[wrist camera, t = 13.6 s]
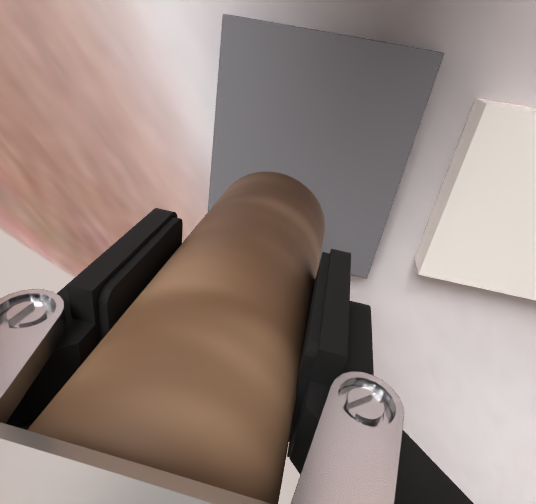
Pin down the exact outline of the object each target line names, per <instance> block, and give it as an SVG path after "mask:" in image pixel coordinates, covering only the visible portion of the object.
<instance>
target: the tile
mask: <svg viewBox="0 0 536 504" xmlns="http://www.w3.org/2000/svg"><path fill="white" fill-rule="evenodd" d="M414 258H415V262H416V267H417V271H418V275H423V276H427V277H432V278H436V279H441V280H445V281H450V282H454V283H459V284H463V285H468V286H472V287H477V288H481V289H486V290H490V291H495V292H499V293H504V294H508V295H513V296H517V297H522V298H526V299H531V300H535V301H536V108H534V107H529V106H523V105H517V104H511V103H505V102H499V101H493V100H487V99H481V98H475V101H474V104H473V106H472V109H471V111H470V114H469V117H468V119H467V122H466V124H465V127H464V130H463V132H462V135H461V137H460V140H459V143H458V145H457V148H456V150H455V153H454V156H453V158H452V161H451V163H450V166H449V169H448V171H447V174H446V176H445V179H444V182H443V184H442V187H441V189H440V192H439V195H438V197H437V200H436V202H435V205H434V208H433V210H432V213H431V215H430V218H429V221H428V223H427V226H426V228H425V231H424V234H423V236H422V239H421V241H420V244H419V247H418V249H417V252H416V254H415V257H414Z"/></svg>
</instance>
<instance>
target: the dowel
mask: <svg viewBox="0 0 536 504" xmlns="http://www.w3.org/2000/svg"><path fill="white" fill-rule="evenodd" d="M324 232H325V220H324V214H323V211H322V208H321V206H320V203H319V202H318V200H317V198H316V197H315V196H314V194H313V193H312V192H311V191H310V190H309V189H308V188H307V187H306V186H305V185H304V184H302V183H301V182H300V181H298V180H296V179H294V178H292V177H290V176H288V175H285V174H281V173H277V172H256V173H252V174H249V175H246V176H244V177H242V178H240V179H238V180H237V181H235V182H234V183H233V184H232V185H231V186H230V187H229V188H228V189H227V190H226V191H225V193H224V194H223V195H222V196H221V197H220V199H219V200H218V201H217V202H216V203H215V205H214V206H213V207H212V208H211V209H210V211H209V212H208V213H207V214H206V215H205V217H204V218H203V219H202V220H201V221H200V223H199V224H198V225H197V226H196V227H195V229H194V230H193V231H192V232H191V233H190V235H189V236H188V237H187V238H186V239H185V241H184V242H183V243H182V244H181V245H180V247H179V248H178V249H177V250H176V251H175V253H174V254H173V255H172V256H171V258H170V259H169V260H168V261H167V262H166V264H165V265H164V266H163V267H162V268H161V270H160V271H159V272H158V273H157V274H156V276H155V277H154V278H153V279H152V280H151V282H150V283H149V284H148V285H147V286H146V288H145V289H144V290H143V291H142V292H141V294H140V295H139V296H138V297H137V298H136V300H135V301H134V302H133V303H132V304H131V306H130V307H129V308H128V309H127V310H126V312H125V313H124V314H123V315H122V316H121V318H120V319H119V320H118V321H117V322H116V324H115V325H114V326H113V327H112V328H111V330H110V331H109V332H108V333H107V334H106V336H105V337H104V338H103V339H102V340H101V342H100V343H99V344H98V345H97V347H96V348H95V349H94V350H93V351H92V353H91V354H90V355H89V356H88V357H87V359H86V360H85V361H84V362H83V363H82V365H81V366H80V367H79V368H78V369H77V371H76V372H75V373H74V374H73V375H72V377H71V378H70V379H69V380H68V381H67V383H66V384H65V385H64V386H63V387H62V389H61V390H60V391H59V392H58V393H57V395H56V396H55V397H54V398H53V399H52V401H51V402H50V403H49V404H48V405H47V407H46V408H45V409H44V410H43V411H42V413H41V414H40V415H39V416H38V417H37V419H36V420H35V421H34V422H33V423H32V425H31V426H30V427H29V428H28V431H31V432H35V433H38V434H42V435H45V436H48V437H52V438H55V439H58V440H62V441H65V442H68V443H72V444H75V445H78V446H82V447H85V448H88V449H92V450H95V451H99V452H102V453H105V454H109V455H112V456H115V457H119V458H122V459H125V460H129V461H132V462H135V463H139V464H142V465H145V466H149V467H152V468H155V469H159V470H162V471H165V472H169V473H172V474H175V475H178V476H182V477H185V478H188V479H192V480H195V481H198V482H201V483H205V484H208V485H211V486H215V487H218V488H221V489H224V490H228V491H231V492H234V493H237V494H241V495H244V496H247V497H251V498H254V499H257V500H260V501H264V502H267V503H270V504H278V501H279V495H280V489H281V483H282V477H283V471H284V466H285V460H286V454H287V448H288V442H289V436H290V431H291V425H292V419H293V413H294V407H295V401H296V384H297V378H298V373H299V367H300V362H301V356H302V350H303V345H304V339H305V334H306V328H307V322H308V317H309V311H310V305H311V300H312V294H313V289H314V283H315V278H316V274H317V271H318V267H319V261H320V256H321V250H322V244H323V238H324Z"/></svg>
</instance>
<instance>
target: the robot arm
mask: <svg viewBox="0 0 536 504" xmlns="http://www.w3.org/2000/svg"><path fill="white" fill-rule="evenodd" d="M181 244H182V219H179V218H177V214H176V213H175V212H171V211H167V210H162V209H158V208H155V209H154V210H152V211H151V212H150V213H149V214H148V215H147V216H146V217H144V218H143V219H142V220H141V221H140V222H139V223H138V224H136V225H135V226H134V227H133V228H132V229H131V230H129V231H128V232H127V233H126V234H125V235H124V236H123V237H121V238H120V239H119V240H118V241H117V242H116V243H115V244H113V245H112V246H111V247H110V248H109V249H108V250H106V251H105V252H104V253H103V254H102V255H101V256H99V257H98V258H97V259H96V260H95V261H94V262H93V263H91V264H90V265H89V266H88V267H87V268H86V269H85V270H83V271H82V272H81V273H80V274H79V275H78V276H76V277H75V278H74V279H73V280H72V281H71V282H70V283H68V284H67V285H66V286H65V287H64V288H63V289H62V290H60V291H59V292H58V293H57V294H56V293H54V292H52V291H48V290H43V289H42V290H41V289H30V290H22V291H18V292H15V293H11V294H9V295H6V296H5V297H2V298H0V504H270V503H267V502H264V501H260V500H257V499H254V498H251V497H247V496H244V495H241V494H237V493H234V492H231V491H228V490H224V489H221V488H218V487H215V486H211V485H208V484H205V483H201V482H198V481H195V480H192V479H188V478H185V477H182V476H178V475H175V474H172V473H169V472H165V471H162V470H159V469H155V468H152V467H149V466H145V465H142V464H139V463H135V462H132V461H129V460H125V459H122V458H119V457H115V456H112V455H109V454H105V453H102V452H99V451H95V450H92V449H88V448H85V447H82V446H78V445H75V444H72V443H68V442H65V441H62V440H58V439H55V438H52V437H48V436H45V435H42V434H38V433H35V432H31V431H28V428H29V427H30V426H31V425H32V423H33V422H34V421H35V420H36V419H37V417H38V416H39V415H40V414H41V413H42V411H43V410H44V409H45V408H46V407H47V405H48V404H49V403H50V402H51V401H52V399H53V398H54V397H55V396H56V395H57V393H58V392H59V391H60V390H61V389H62V387H63V386H64V385H65V384H66V383H67V381H68V380H69V379H70V378H71V377H72V375H73V374H74V373H75V372H76V371H77V369H78V368H79V367H80V366H81V365H82V363H83V362H84V361H85V360H86V359H87V357H88V356H89V355H90V354H91V353H92V351H93V350H94V349H95V348H96V347H97V345H98V344H99V343H100V342H101V340H102V339H103V338H104V337H105V336H106V334H107V333H108V332H109V331H110V330H111V328H112V327H113V326H114V325H115V324H116V322H117V321H118V320H119V319H120V318H121V316H122V315H123V314H124V313H125V312H126V310H127V309H128V308H129V307H130V306H131V304H132V303H133V302H134V301H135V300H136V298H137V297H138V296H139V295H140V294H141V292H142V291H143V290H144V289H145V288H146V286H147V285H148V284H149V283H150V282H151V280H152V279H153V278H154V277H155V276H156V274H157V273H158V272H159V271H160V270H161V268H162V267H163V266H164V265H165V264H166V262H167V261H168V260H169V259H170V258H171V256H172V255H173V254H174V253H175V251H176V250H177V249H178V248H179V247H180V245H181ZM350 273H351V253H349V252H344V251H340V250H336V249H331V251H330V253H326V252H322V255H321V259H320V263H319V267H318V271H317V274H316V278H315V283H314V289H313V294H312V300H311V305H310V311H309V317H308V322H307V328H306V334H305V339H304V345H303V350H302V356H301V362H300V367H299V373H298V378H297V384H296V401H295V407H294V413H293V419H292V425H291V431H290V436H289V447H288V454H287V457H290V460H291V462H292V463H293V465H294V466H295V467H296V469H297V470H298V472H299V473H300V478H299V481H298V484H297V487H296V490H295V493H294V496H293V498H292V502H291V504H474V503H473V502H472V501H471V500H470V499H469V498H468V497H467V496H466V495H465V494H464V493H463V492H462V491H461V490H460V489H459V488H458V487H457V486H456V485H455V484H454V483H453V482H452V481H451V480H450V478H449V477H448V476H447V475H446V474H445V473H444V472H443V471H442V470H441V469H440V468H439V467H438V466H437V465H436V464H435V463H434V462H433V461H432V460H431V459H430V458H429V457H428V456H427V455H426V453H425V452H424V451H423V450H422V449H421V448H420V447H419V446H418V445H417V444H416V443H415V442H414V441H413V440H412V439H411V438H410V437H409V436H408V435H407V434H406V433H405V432H404V431H403V421H404V409H403V405H402V402H401V400H400V398H399V396H398V395H397V394H396V392H395V391H394V390H393V389H392V388H391V387H390V386H389V385H388V384H387V383H385V382H384V381H383V380H381V379H379V378H377V377H375V376H374V374H373V350H372V325H371V308H370V306H369V305H365V304H361V303H357V302H353V301H349V300H350Z"/></svg>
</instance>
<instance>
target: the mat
mask: <svg viewBox="0 0 536 504" xmlns="http://www.w3.org/2000/svg"><path fill="white" fill-rule="evenodd" d="M443 55H444V53H441V52H436V51H431V50H425V49H419V48H414V47H408V46H402V45H397V44H391V43H386V42H380V41H374V40H369V39H363V38H357V37H352V36H346V35H340V34H335V33H329V32H324V31H318V30H312V29H307V28H301V27H295V26H290V25H284V24H278V23H273V22H267V21H262V20H256V19H250V18H245V17H239V16H233V15H226V14H223V19H222V33H221V46H220V59H219V72H218V85H217V98H216V111H215V124H214V137H213V150H212V163H211V176H210V189H209V202H208V212H209V211H210V209H211V208H212V207H213V206H214V205H215V203H216V202H217V201H218V200H219V199H220V197H221V196H222V195H223V194H224V193H225V191H226V190H227V189H228V188H229V187H230V186H231V185H232V184H233V183H234V182H235V181H237V180H238V179H240V178H242V177H244V176H246V175H249V174H252V173H256V172H277V173H281V174H285V175H288V176H290V177H292V178H294V179H296V180H298V181H300V182H301V183H302V184H304V185H305V186H306V187H307V188H308V189H309V190H310V191H311V192H312V193H313V194H314V196H315V197H316V198H317V200H318V202H319V203H320V206H321V208H322V211H323V214H324V220H325V232H324V238H323V244H322V250H321V255H322V252H326V253H330V251H331V249H336V250H340V251H344V252H349V253H351V273H350V274H351V275H355V276H359V277H363V278H367V277H368V274H369V271H370V268H371V265H372V262H373V259H374V256H375V253H376V250H377V247H378V245H379V242H380V239H381V236H382V233H383V230H384V227H385V224H386V221H387V218H388V215H389V212H390V210H391V207H392V204H393V201H394V198H395V195H396V192H397V189H398V186H399V183H400V180H401V177H402V175H403V172H404V169H405V166H406V163H407V160H408V157H409V154H410V151H411V148H412V145H413V142H414V140H415V137H416V134H417V131H418V128H419V125H420V122H421V119H422V116H423V113H424V110H425V107H426V105H427V102H428V99H429V96H430V93H431V90H432V87H433V84H434V81H435V78H436V75H437V73H438V70H439V67H440V64H441V61H442V58H443ZM320 259H321V256H320ZM319 263H320V261H319Z"/></svg>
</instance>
